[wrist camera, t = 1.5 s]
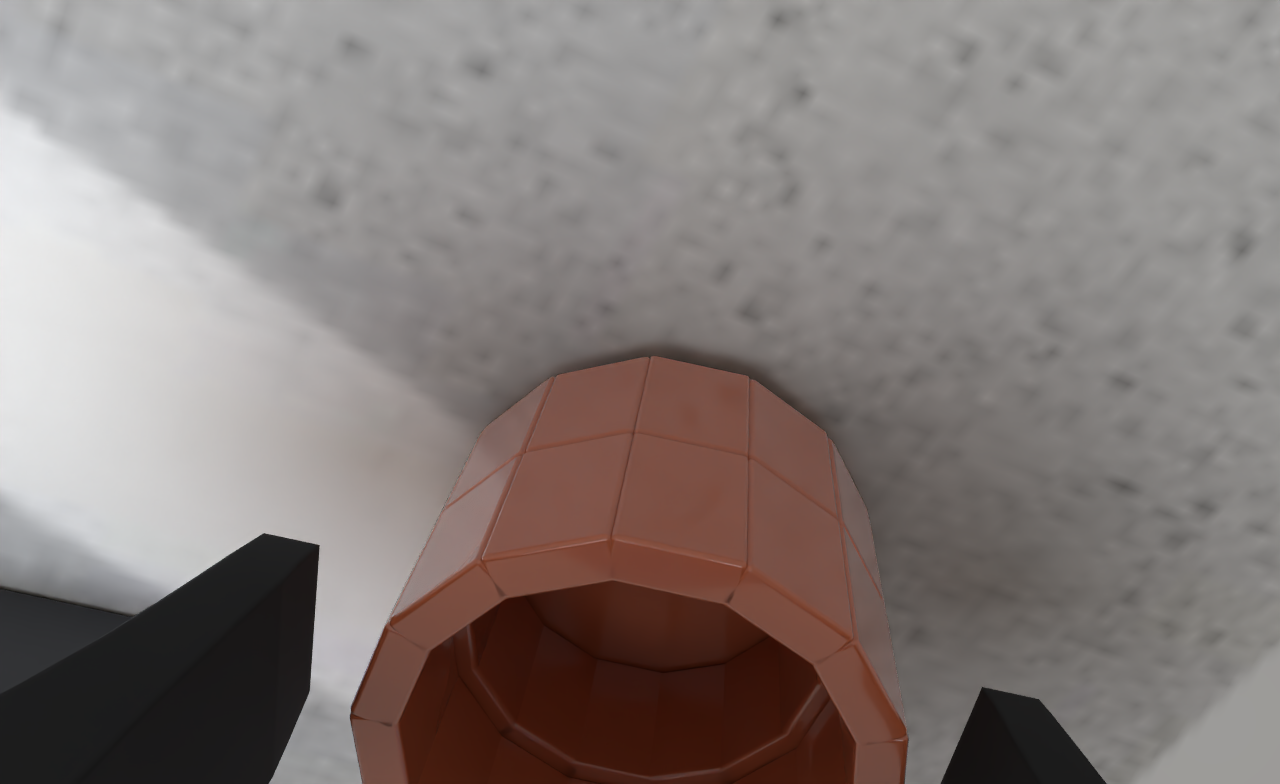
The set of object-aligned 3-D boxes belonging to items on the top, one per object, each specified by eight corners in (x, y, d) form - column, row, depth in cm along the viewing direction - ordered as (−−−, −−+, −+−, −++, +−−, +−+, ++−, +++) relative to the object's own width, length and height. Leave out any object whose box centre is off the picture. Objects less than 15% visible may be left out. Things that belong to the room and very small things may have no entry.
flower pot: (808, 718, 16) (827, 1009, 12) (439, 639, 16) (331, 901, 12) (919, 393, 13) (990, 617, 9) (486, 301, 13) (369, 484, 9)
